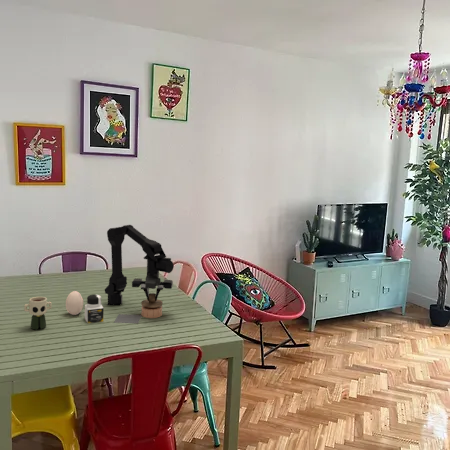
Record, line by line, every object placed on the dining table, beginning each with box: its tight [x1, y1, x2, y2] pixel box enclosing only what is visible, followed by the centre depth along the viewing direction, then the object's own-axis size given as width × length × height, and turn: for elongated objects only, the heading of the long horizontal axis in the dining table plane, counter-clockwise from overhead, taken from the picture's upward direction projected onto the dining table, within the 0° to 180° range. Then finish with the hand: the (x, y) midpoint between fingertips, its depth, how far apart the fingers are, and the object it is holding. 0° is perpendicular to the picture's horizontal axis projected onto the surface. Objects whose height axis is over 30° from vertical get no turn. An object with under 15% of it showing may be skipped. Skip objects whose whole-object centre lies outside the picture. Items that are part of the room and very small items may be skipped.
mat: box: [113, 313, 143, 325], centre depth 212 cm, size 11×11×1 cm
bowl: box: [140, 305, 163, 319], centre depth 219 cm, size 10×10×4 cm
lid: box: [141, 292, 163, 308], centre depth 218 cm, size 10×10×5 cm
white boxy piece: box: [84, 294, 105, 324], centre depth 208 cm, size 7×7×12 cm
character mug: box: [23, 296, 53, 330], centre depth 197 cm, size 11×7×13 cm, turn 119°
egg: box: [65, 290, 84, 316], centre depth 215 cm, size 8×8×11 cm
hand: (152, 300), depth 218 cm, fingers closed on lid, 3 cm apart
